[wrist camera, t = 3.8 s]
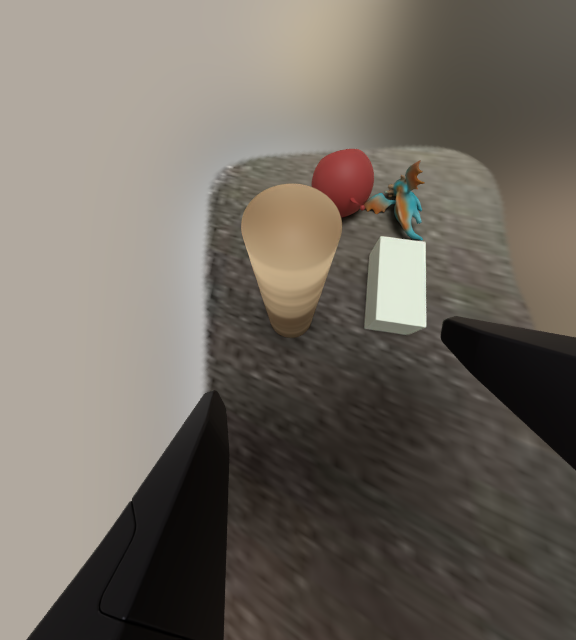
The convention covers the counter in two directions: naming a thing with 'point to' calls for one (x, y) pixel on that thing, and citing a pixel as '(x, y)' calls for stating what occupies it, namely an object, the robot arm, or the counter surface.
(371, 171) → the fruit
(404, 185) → the dragon figurine
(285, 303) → the oak post
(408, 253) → the white block
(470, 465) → the counter surface
